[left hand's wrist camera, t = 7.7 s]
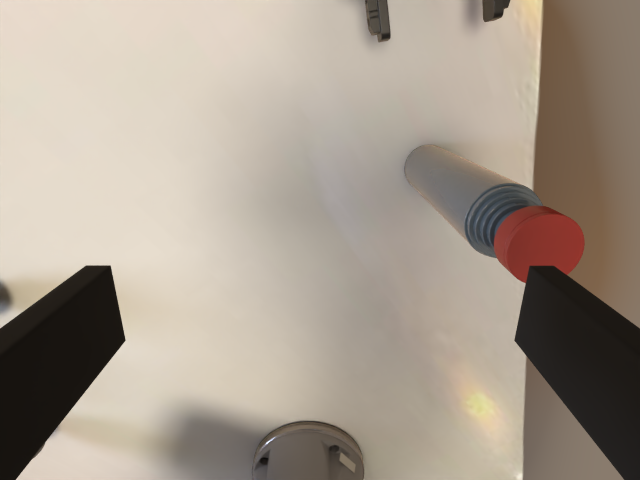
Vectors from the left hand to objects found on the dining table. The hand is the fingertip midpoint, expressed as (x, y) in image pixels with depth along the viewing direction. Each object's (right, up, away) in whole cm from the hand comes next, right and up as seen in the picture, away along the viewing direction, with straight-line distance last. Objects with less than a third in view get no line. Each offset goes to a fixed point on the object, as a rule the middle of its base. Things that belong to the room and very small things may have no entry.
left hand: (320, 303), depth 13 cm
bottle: (+11, +10, +29) cm, 32 cm away
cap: (+11, +2, +7) cm, 13 cm away
